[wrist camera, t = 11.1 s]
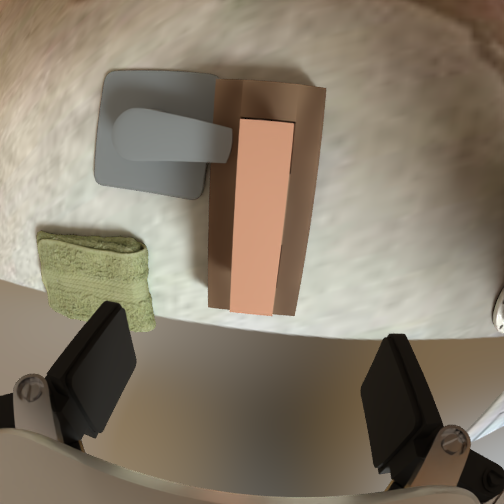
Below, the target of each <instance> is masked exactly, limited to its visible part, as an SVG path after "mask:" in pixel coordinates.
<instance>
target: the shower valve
mask: <svg viewBox="0 0 504 504" xmlns="http://www.w3.org/2000/svg"><path fill="white" fill-rule="evenodd" d="M216 79H219V78H218V77H217V76H215V75H213V74H206V73H194V72H179V71H150V70H133V71H113V72H110V73H109V74H108V75H107V76H106V78H105V81H104V86H103V92H102V99H101V106H100V113H99V121H98V131H97V141H96V154H95V173H94V176H95V180H96V182H97V183H98V184H100V185H103V186H110V187H117V188H124V189H130V190H136V191H143V192H149V193H155V194H161V195H167V196H173V197H179V198H184V199H191V200H192V199H197V198H199V197H200V196H201V194H202V192H203V189H204V182H205V176H206V169H207V163H208V162H211V163H226V162H227V160H228V158H229V156H230V153H231V149H232V144H233V129H232V128H228V127H224V126H221V125H217V124H213V112H214V98H215V85H216Z"/></svg>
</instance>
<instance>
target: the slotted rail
mask: <svg viewBox="0 0 504 504" xmlns="http://www.w3.org/2000/svg"><path fill="white" fill-rule="evenodd" d="M325 98H326V88H322V87H315V86H308V85H300V84H292V83H282V82H272V81H258V80H239V79H216V85H215V98H214V112H213V124H217V125H221V126H224V127H228V128H232V129H233V144H232V149H231V153H230V156H229V158H228V160H227V162H226V163H211V168H210V194H209V233H208V307H210V308H219V309H227V310H230V294H231V270H232V248H233V228H234V209H235V191H236V175H237V158H238V143H239V128H240V119H244V118H255V119H268V120H279V121H288V122H293V123H294V131H293V142H292V152H291V162H290V172H289V181H288V191H287V200H286V209H285V218H284V226H283V235H282V243H281V251H280V260H279V267H278V275H277V283H276V291H275V298H274V305H273V313H272V314H277V315H289V316H295V311H296V306H297V300H298V295H299V290H300V284H301V278H302V273H303V267H304V261H305V255H306V249H307V243H308V236H309V230H310V223H311V217H312V210H313V203H314V195H315V188H316V181H317V173H318V165H319V156H320V148H321V139H322V129H323V119H324V109H325Z"/></svg>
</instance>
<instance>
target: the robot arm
mask: <svg viewBox="0 0 504 504" xmlns="http://www.w3.org/2000/svg"><path fill="white" fill-rule="evenodd" d="M493 323H494V326H495V327H496V329H497V330H498V331H499V332H500V333H504V288H503V290H502V291H501V293H500V295H499V298H498V300H497V303H496V305H495V309H494V313H493ZM135 366H136V356H135V352H134V348H133V343H132V340H131V335H130V330H129V325H128V321H127V316H126V311H125V309H124V308H122V306H121V304H120V303H117V302H112V301H104V302H103V303H102V304H101V306H100V307H99V308H98V309H97V310H96V312H95V313H94V314H93V315H92V316H91V318H90V319H89V320H88V321H87V323H86V324H85V325H84V326H83V327H82V329H81V330H80V331H79V332H78V334H77V335H76V336H75V337H74V339H73V340H72V341H71V342H70V344H69V345H68V346H67V347H66V349H65V350H64V352H63V353H62V354H61V355H60V356H59V358H58V359H57V360H56V362H55V363H54V364H53V366H52V367H51V368H50V370H49V371H48V372H47V376H46V377H45V378H44V377H42V376H41V375H39V374H27V375H25V376H23V377H21V378H20V379H19V380H18V381H17V382H16V384H15V386H14V389H13V393H10V394H6V395H3V396H0V504H504V470H503V468H502V467H501V466H499V465H498V464H496V463H494V462H493V461H491V460H489V459H487V458H485V457H483V456H482V455H480V454H478V453H476V452H474V451H473V450H471V449H470V447H471V441H470V437H469V435H468V433H467V432H466V431H465V430H464V429H463V428H461V427H460V426H457V425H447V426H443V423H442V420H441V417H440V415H439V412H438V409H437V407H436V404H435V401H434V399H433V396H432V394H431V391H430V389H429V387H428V384H427V382H426V379H425V377H424V374H423V372H422V370H421V368H420V365H419V363H418V361H417V359H416V356H415V354H414V352H413V350H412V347H411V345H410V343H409V341H408V339H407V337H406V335H405V334H389V335H388V336H387V337H385V338H384V339H383V340H382V343H381V345H380V347H379V350H378V352H377V354H376V356H375V359H374V361H373V363H372V365H371V367H370V369H369V372H368V374H367V376H366V378H365V380H364V382H363V384H362V386H361V397H362V402H363V408H364V412H365V418H366V423H367V429H368V434H369V440H370V446H371V452H372V457H373V464H374V467H375V468H378V472H379V474H385V473H391V479H392V480H391V481H390V483H389V484H388V486H387V487H386V489H385V490H384V492H376V493H368V494H359V495H348V496H334V497H271V496H257V495H245V494H237V493H229V492H222V491H216V490H210V489H204V488H198V487H193V486H188V485H184V484H180V483H175V482H171V481H167V480H163V479H159V478H156V477H152V476H149V475H145V474H142V473H139V472H136V471H132V470H129V469H126V468H124V467H121V466H118V465H115V464H112V463H109V462H107V461H104V460H102V459H99V458H96V457H94V456H91V455H89V454H87V453H85V450H84V447H83V443H82V440H81V439H82V437H83V435H84V434H86V435H89V436H90V437H93V438H96V437H97V435H98V433H101V432H103V430H104V428H105V426H106V424H107V422H108V420H109V418H110V416H111V414H112V412H113V410H114V408H115V406H116V404H117V402H118V400H119V398H120V396H121V394H122V392H123V390H124V388H125V386H126V384H127V382H128V380H129V379H130V377H131V375H132V373H133V371H134V369H135Z"/></svg>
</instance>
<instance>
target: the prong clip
mask: <svg viewBox="0 0 504 504" xmlns="http://www.w3.org/2000/svg"><path fill="white" fill-rule="evenodd" d="M293 131H294V123H285V122H275V121H264V120H250V119H240V128H239V143H238V158H237V175H236V191H235V209H234V228H233V248H232V270H231V294H230V312H236V313H246V314H256V315H266V316H272V313H273V305H274V298H275V291H276V283H277V275H278V267H279V260H280V251H281V243H282V235H283V226H284V218H285V209H286V200H287V191H288V181H289V172H290V162H291V152H292V142H293Z"/></svg>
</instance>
